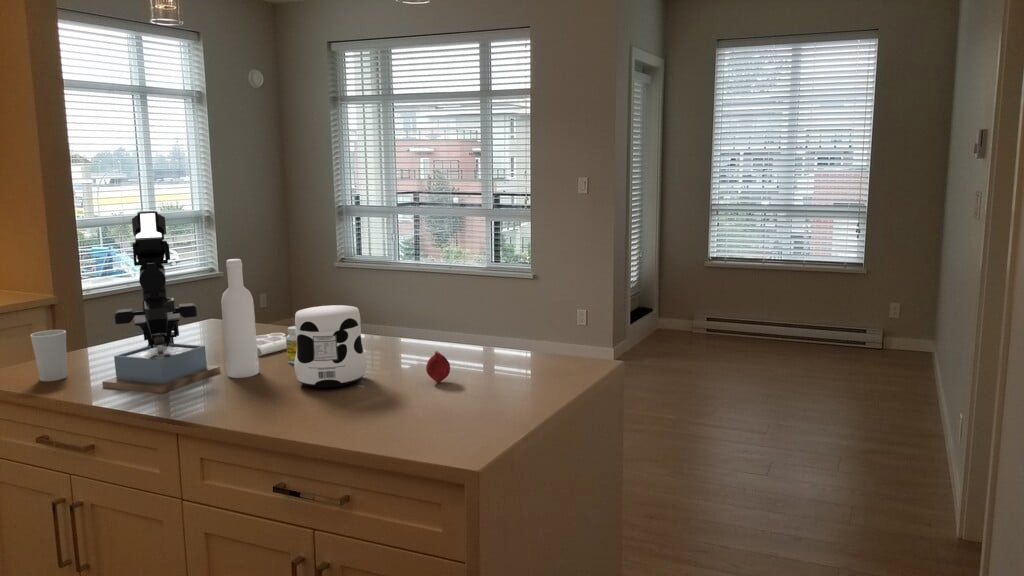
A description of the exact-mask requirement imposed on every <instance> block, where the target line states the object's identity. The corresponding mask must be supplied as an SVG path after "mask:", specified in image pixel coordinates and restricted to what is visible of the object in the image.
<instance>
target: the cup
mask: <svg viewBox="0 0 1024 576" xmlns="http://www.w3.org/2000/svg"><path fill="white" fill-rule="evenodd" d="M30 339H31V344H32V347H33V353H34V357H35V358H34V359H35V362H36V366H37V370H38V376H39V381H40V382H55V381H60V380H63V379H66V378H68V377H69V376H68V362H67V361H68V360H67V359H68V357H67V355H68V354H67V331H66V330H64V329H50V330H49V329H48V330H44V331H43V330H42V331H41V330H40V331H37V332H34V333H30Z"/></svg>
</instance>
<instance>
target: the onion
mask: <svg viewBox="0 0 1024 576" xmlns="http://www.w3.org/2000/svg"><path fill="white" fill-rule="evenodd" d="M425 371H426V374H427V375H428V376H429V378H431V380H433V381H434V382H435V383H437V384H438V383H439V384H440V383H441V382H442V381H444V380H445V379H446V378H447V377H448V376H449V374H450V373H451V363H450V361H449V360H448V359H447V357H445V356H444V355H443V354H442V353H440V352H439V350H435V351H434V354H432V356H431V357H430V358H429V359H428V361H427V362H426V366H425Z"/></svg>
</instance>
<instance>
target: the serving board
mask: <svg viewBox="0 0 1024 576" xmlns="http://www.w3.org/2000/svg"><path fill="white" fill-rule="evenodd" d="M219 373H221V366H219V365H208V364H207V369H204V370H201V371H198V372H195V373H193V374H190V375H187V376H184V377H181V378H179V379H176V380H173V381H170V382H167V383H165V384H157V383H147V382H137V381H127V380H118V379H117V378H116V376H115V377H112V378H108V379H106V380H103V381H102V382H101V383H102V388H104V389H106V388H107V389H114V390H115V389H117V390H126V391H134V392H144V393H151V394H152V393H154V394H164V393H167V392H170V391H174V390H175V389H178V388H181V387H184V386H186V385H189V384H192V383H195V382H197V381H200V380H202V379H205V378H207V377H210V376H213V375H216V374H219Z"/></svg>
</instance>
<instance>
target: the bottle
mask: <svg viewBox="0 0 1024 576" xmlns="http://www.w3.org/2000/svg"><path fill="white" fill-rule="evenodd" d="M225 267H226V272H227V284H228V286H227V287H228V288H227V289H225V290H224V292H223V293H222V296H221V302H220V304H221V315H222V328H223V329H222V330H223V337H224V338H223V340H224V349H225V360H226V361H225V362H226V365H225V366H226V373H227V376H228V378H232V379H244V378H250V377H255V376H256V375H258V374H259V372H260V361H259V356H258V352H257V340H256V336H257V332H256V331H257V330H256V316H255V304H254V298H253V296H252V293H251V291H250V290H249V289H247V287H245V286H244V278H243V277H244V275H243V263H242V259H240V258H231V259H230V258H229V259H227V260H226V265H225Z"/></svg>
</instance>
